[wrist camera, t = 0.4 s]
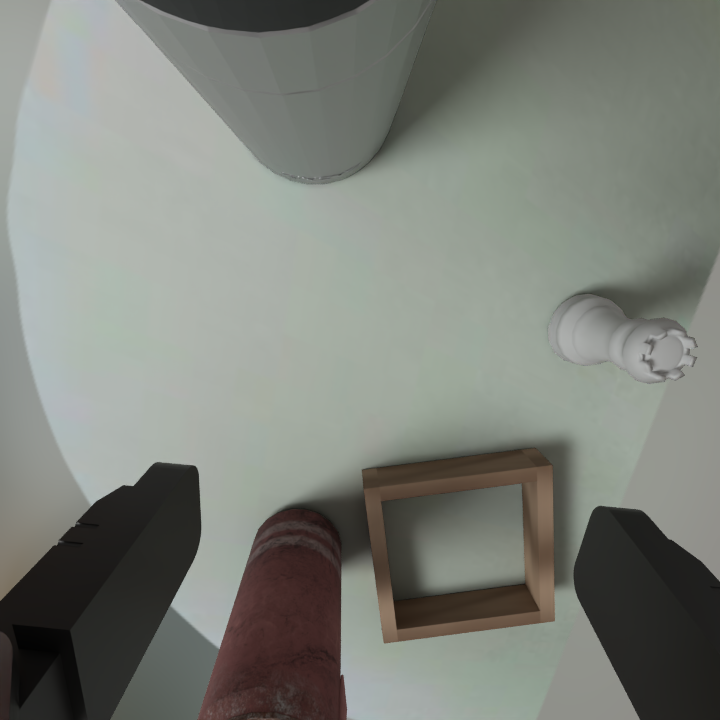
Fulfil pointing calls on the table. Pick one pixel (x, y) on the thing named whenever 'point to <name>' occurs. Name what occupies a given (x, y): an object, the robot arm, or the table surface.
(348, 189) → the table surface
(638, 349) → the rook chess piece
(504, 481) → the walnut collar
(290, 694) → the can
